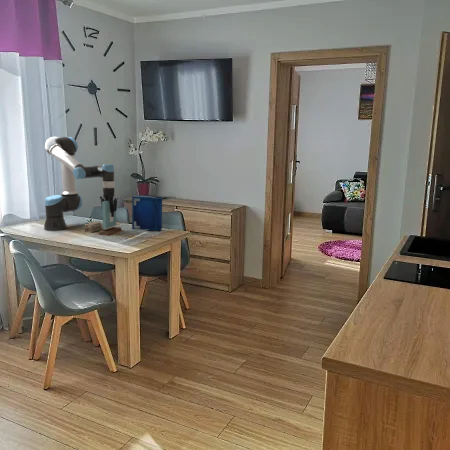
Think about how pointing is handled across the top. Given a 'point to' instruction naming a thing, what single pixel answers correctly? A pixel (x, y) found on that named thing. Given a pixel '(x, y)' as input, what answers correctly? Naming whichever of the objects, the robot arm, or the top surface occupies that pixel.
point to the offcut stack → (93, 227)
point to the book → (147, 212)
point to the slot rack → (110, 231)
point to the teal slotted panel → (107, 215)
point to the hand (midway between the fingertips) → (109, 221)
